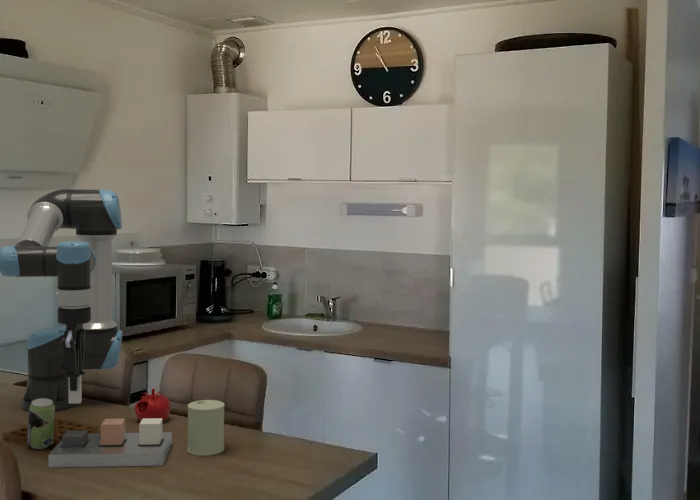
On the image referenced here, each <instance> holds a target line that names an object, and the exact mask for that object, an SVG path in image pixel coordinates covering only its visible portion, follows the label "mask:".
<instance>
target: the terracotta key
mask: <svg viewBox="0 0 700 500" xmlns="http://www.w3.org/2000/svg"><path fill="white" fill-rule="evenodd" d="M100 433H101V445H122V443H123V442H124V440H125V433H126V418H104V420H103V421H102V423H101V424H100Z"/></svg>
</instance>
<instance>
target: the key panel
mask: <svg viewBox="0 0 700 500" xmlns="http://www.w3.org/2000/svg"><path fill="white" fill-rule="evenodd" d="M172 445H173V432H171V431H169V432H167V431H166V432H165V431H164V432H163V431H162V440H161V442H160V444H145V445H139V432H125V440H124V442H123V443H122V445H101V432H94V433H93V432H91V433H88V443H87V444H86V446H85V447H62V439H61V440H60V441H58V443H57V445H56V446H55V447H54V448H53V449H52V450H51V451H50V452H49V454H48V468H49V469H51V468H91V467H92V468H94V467H96V468H97V467H98V468H99V467H101V468H102V467H105V468H106V467H107V468H108V467H153V466H155V467H158V466H159V467H162V466H164V465H165V462H166V460H167V457H168V454H169V452H170V450H171V448H172Z"/></svg>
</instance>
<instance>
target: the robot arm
mask: <svg viewBox="0 0 700 500" xmlns="http://www.w3.org/2000/svg"><path fill="white" fill-rule="evenodd" d="M29 207H30V208H29V209H28V212H27V214H26V216H27V222H26V224H25V225H24V228H23V230H22V232H21V234H20V235H19V237H18V240H17V241H16V244H15V245H9V246H2V248H0V274H1V276H3V277H11V278H12V277H14V278H30V277H31V278H35V277H40V278H42V277H44V278H45V277H48V278H52V277H56V278H57V279H56V280H57V287H56V289H57V292H56V291H55V293H54V295H55V297H57V305H58V306H59V307H58V308H57V322H58V323H59V324H60V325H57V326H55V325H54V326H49V327H44V328H40V329H37V330H34V331H32V332H31V333H30V334H29V335H28V337H27V348H26V350H27V371H28V372H27V374H28V375H27V376H28V377H27V378H28V379H27V384H26V387H25V390H24V394H23V396H22V399H21V408H22V409H23V410H25V411H27V412H29V406H30V405H31V404H32V401H33V400H35V399H40V398H46V399H50V400H52V401H53V404H54V406H55V412H56V411H61V410H66V409H69V408H72V407H74V406H76V404H81V403H82V401H83V399H82V397H83V396H82V395H83V394H82V391H83V390H82V389H83V388H82V387H83V386H82V385H83V384H82V375H83V376H84V375H85V374H86V371H87V370H92V371H93V370H100V371H103V370H109V369H115V368H116V367H117V366H118V364H119V359H120V353H121V348H122V340H123V331H122V330H121V329H118V323H117V322H115V320H114V319H113V283H112V282H113V280H112V279H113V272H112V270H113V269H112V265H113V263H112V260H113V259H112V258H113V256H112V255H113V253H112V252H113V251H112V247H113V246H112V242H113V240H114V239H115V237H117V236H118V231H119V230H121V229H122V226H123V223H122V222H123V221H122V211H121V205H120V200H119V197H118V194H117V192H115V191H114V190H110V189H109V190H107V189H101V188H99V189H76V188H75V189H69V188H63V189H58V190H53V191H51V192H48V193H47V194H44V195H43V196H40V197H39V198H38V199H36V200H35V201H34V202H33V203H32V205H31V206H29ZM60 229H69V230H70V229H72V230H75V236H76V237H77V238H78V239H80V241H78V240H77V241H76V240H73V241H71V240H70V241H61V242H59V243H58V244H57V246H50V244H51V243H52V239H53V237H54V236H55V235H54V234H55V232H57V231H58V230H60ZM117 230H118V231H117ZM84 370H85V371H84Z"/></svg>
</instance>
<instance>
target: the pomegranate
mask: <svg viewBox="0 0 700 500" xmlns="http://www.w3.org/2000/svg"><path fill="white" fill-rule="evenodd" d="M155 392H156V388H152V389H151V394H149V393H147V392H142V393H141V395H142V396H141V397H140V400H139V401H138V402H136V404H135V405H134V412H135V416H136V418H137V420H138V421H139V422H141V420H142V419H143V418H162V423H164V422H165V421H166V420H167V419H168V417H169V416H170V412H171V408H172V405H171V402H170V399H169V398H167V395H166V394H163V392H162V391H158V392H156V393H155ZM160 393H161V394H160ZM143 394H144V395H143Z"/></svg>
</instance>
